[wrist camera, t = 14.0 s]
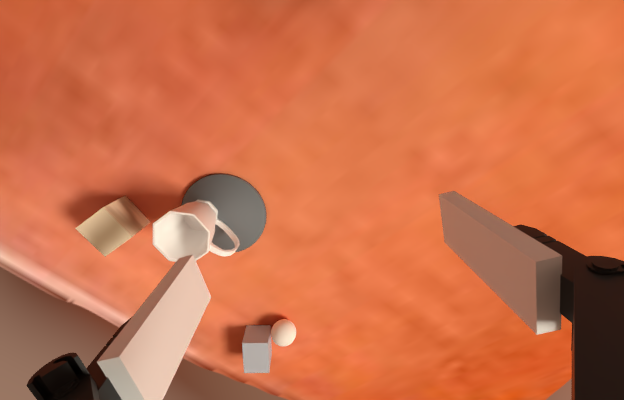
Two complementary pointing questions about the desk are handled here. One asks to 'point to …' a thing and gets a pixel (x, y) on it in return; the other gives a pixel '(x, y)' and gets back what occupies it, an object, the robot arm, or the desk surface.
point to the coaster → (231, 208)
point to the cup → (190, 231)
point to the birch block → (113, 225)
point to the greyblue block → (257, 349)
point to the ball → (283, 332)
